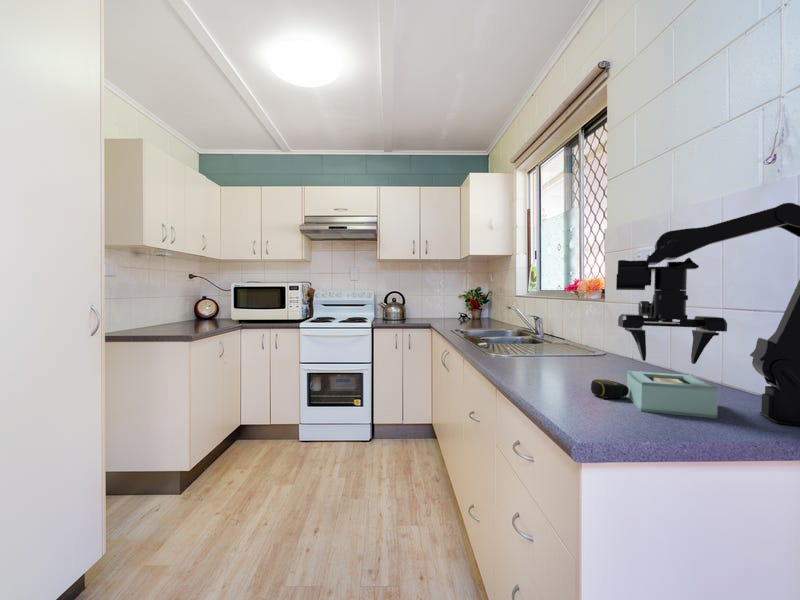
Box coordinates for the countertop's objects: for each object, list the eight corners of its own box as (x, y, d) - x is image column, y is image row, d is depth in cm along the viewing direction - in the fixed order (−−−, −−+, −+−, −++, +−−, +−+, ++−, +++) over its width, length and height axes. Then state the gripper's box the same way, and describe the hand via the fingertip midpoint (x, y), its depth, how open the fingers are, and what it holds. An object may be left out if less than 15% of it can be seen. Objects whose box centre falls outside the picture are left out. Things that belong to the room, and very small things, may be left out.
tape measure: (630, 400, 89) (630, 383, 89) (607, 402, 87) (607, 385, 87) (606, 392, 96) (606, 377, 96) (584, 394, 94) (584, 379, 94)
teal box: (691, 401, 88) (692, 375, 88) (717, 418, 76) (718, 388, 76) (627, 395, 92) (627, 370, 92) (641, 411, 80) (641, 382, 80)
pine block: (676, 401, 85) (677, 379, 85) (683, 407, 81) (684, 383, 81) (653, 399, 87) (653, 377, 87) (658, 404, 83) (659, 381, 83)
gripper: (706, 291, 88) (704, 359, 88) (614, 290, 94) (612, 353, 95) (729, 290, 78) (727, 367, 78) (624, 289, 84) (622, 361, 84)
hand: (668, 362), depth 84 cm, fingers open, 9 cm apart
